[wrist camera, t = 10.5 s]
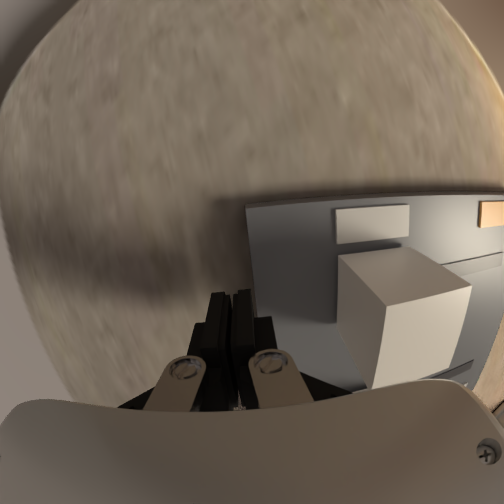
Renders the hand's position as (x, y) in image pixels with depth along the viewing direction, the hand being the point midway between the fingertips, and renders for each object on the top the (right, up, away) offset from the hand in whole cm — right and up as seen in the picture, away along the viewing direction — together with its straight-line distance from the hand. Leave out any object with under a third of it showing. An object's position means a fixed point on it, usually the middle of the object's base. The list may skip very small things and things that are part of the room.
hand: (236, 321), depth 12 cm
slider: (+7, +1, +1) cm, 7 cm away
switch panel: (+11, -2, +4) cm, 12 cm away
